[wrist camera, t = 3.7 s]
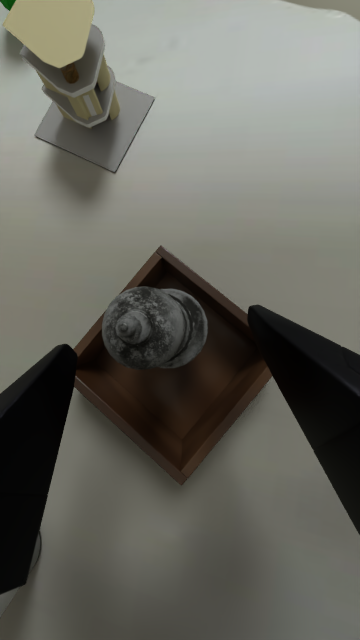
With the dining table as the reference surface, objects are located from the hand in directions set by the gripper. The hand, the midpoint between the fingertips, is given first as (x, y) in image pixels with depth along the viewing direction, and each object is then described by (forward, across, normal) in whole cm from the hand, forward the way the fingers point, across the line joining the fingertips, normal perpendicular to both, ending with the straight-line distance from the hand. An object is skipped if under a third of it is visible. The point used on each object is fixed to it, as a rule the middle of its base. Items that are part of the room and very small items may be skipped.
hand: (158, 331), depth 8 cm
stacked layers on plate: (+22, +4, -11) cm, 25 cm away
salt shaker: (+6, 0, +6) cm, 8 cm away
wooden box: (+4, 0, +7) cm, 8 cm away
